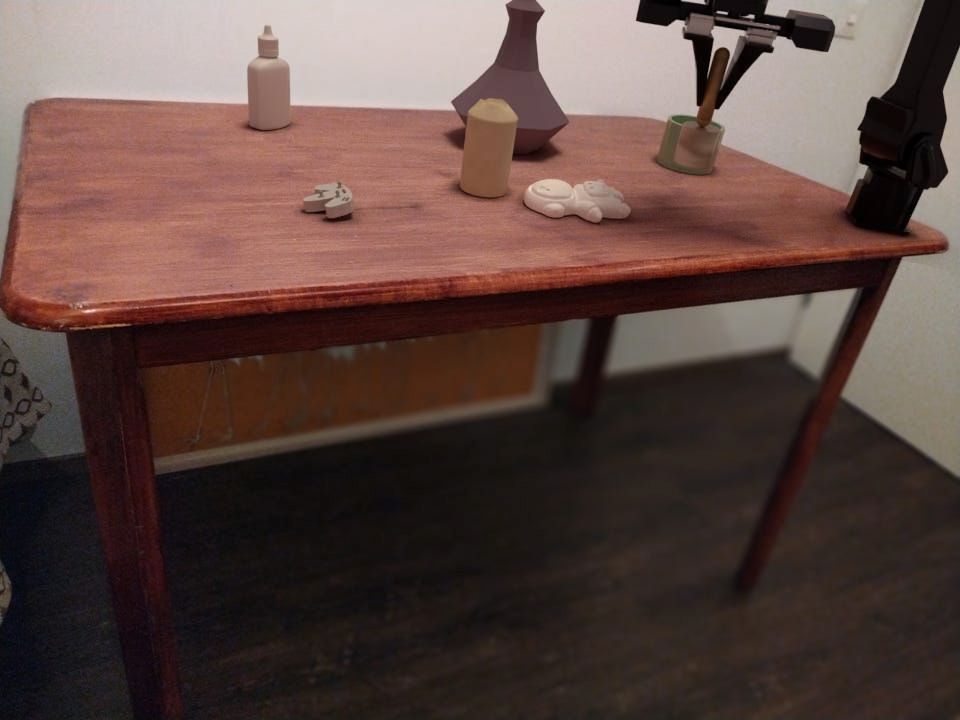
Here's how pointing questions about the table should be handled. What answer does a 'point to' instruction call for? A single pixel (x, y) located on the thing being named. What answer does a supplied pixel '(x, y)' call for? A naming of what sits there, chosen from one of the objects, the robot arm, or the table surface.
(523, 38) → the purple faceted vase
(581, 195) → the astronaut figurine
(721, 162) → the table surface
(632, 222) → the table surface
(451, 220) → the table surface
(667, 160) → the scrub cup
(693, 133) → the brush
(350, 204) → the game controller
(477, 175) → the candle
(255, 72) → the eye dropper bottle
